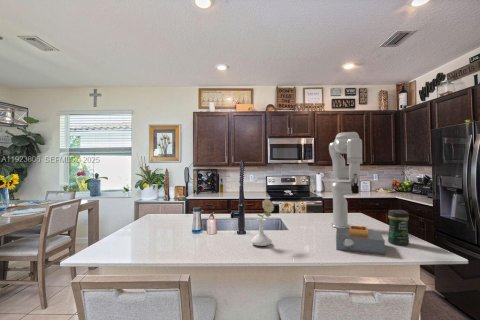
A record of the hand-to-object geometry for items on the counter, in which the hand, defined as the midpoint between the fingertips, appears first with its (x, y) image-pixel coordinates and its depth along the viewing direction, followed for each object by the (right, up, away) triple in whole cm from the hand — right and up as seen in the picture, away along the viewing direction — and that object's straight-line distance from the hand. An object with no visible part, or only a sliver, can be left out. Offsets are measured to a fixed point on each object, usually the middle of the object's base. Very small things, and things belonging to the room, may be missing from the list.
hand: (354, 192), depth 139 cm
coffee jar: (+25, -29, +2) cm, 38 cm away
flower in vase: (-50, -29, +2) cm, 58 cm away
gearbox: (0, -29, -3) cm, 29 cm away
